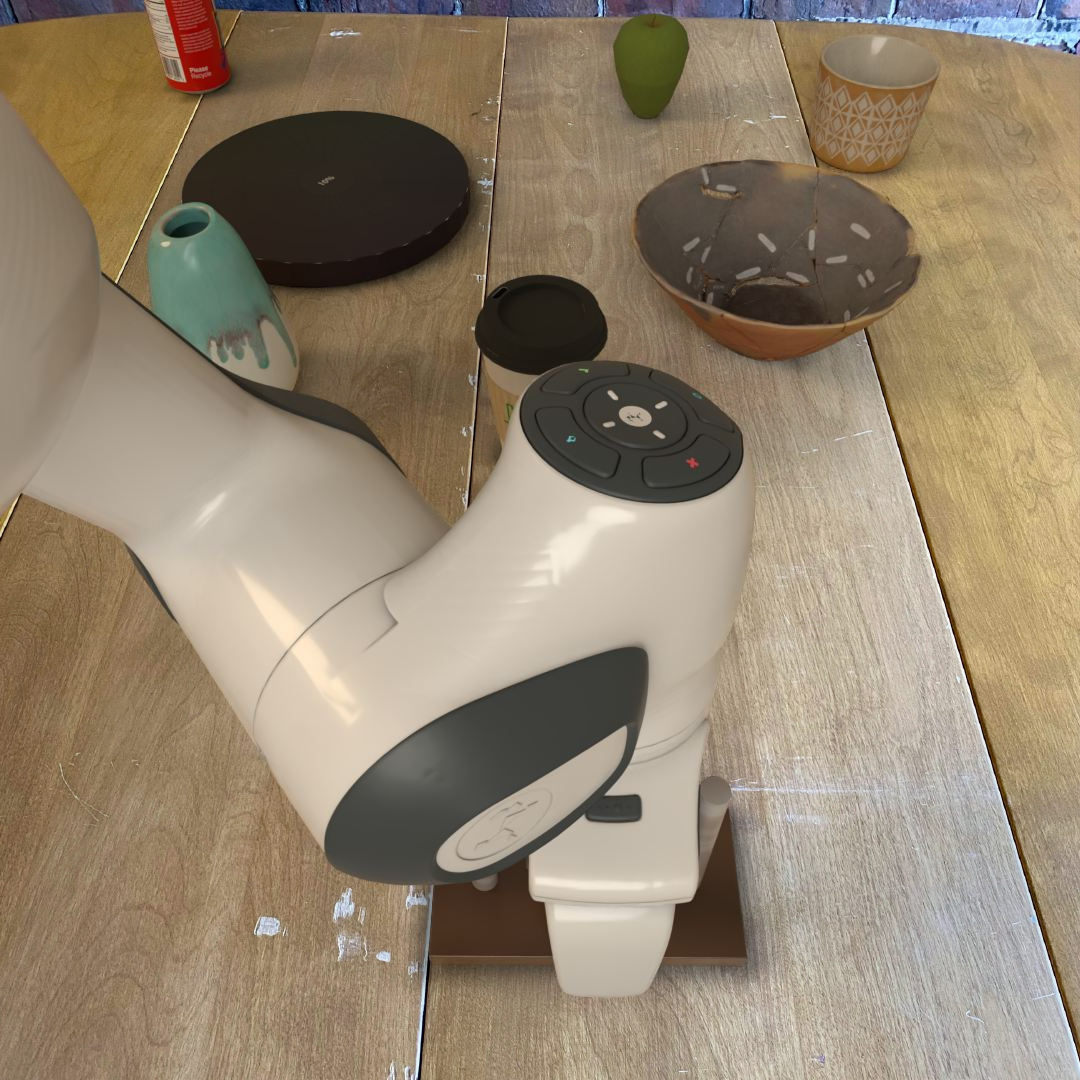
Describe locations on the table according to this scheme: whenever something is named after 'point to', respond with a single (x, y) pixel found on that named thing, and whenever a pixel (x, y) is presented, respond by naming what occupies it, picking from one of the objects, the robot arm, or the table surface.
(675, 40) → the apple
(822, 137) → the planter
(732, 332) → the bowl
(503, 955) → the cup rack
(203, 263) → the vase
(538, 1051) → the table surface
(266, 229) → the disc
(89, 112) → the table surface
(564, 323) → the coffee cup
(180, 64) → the soda can
